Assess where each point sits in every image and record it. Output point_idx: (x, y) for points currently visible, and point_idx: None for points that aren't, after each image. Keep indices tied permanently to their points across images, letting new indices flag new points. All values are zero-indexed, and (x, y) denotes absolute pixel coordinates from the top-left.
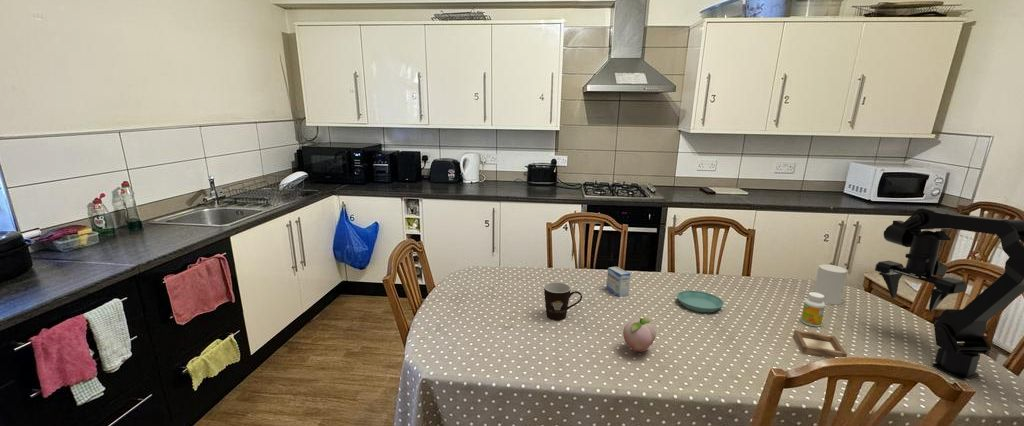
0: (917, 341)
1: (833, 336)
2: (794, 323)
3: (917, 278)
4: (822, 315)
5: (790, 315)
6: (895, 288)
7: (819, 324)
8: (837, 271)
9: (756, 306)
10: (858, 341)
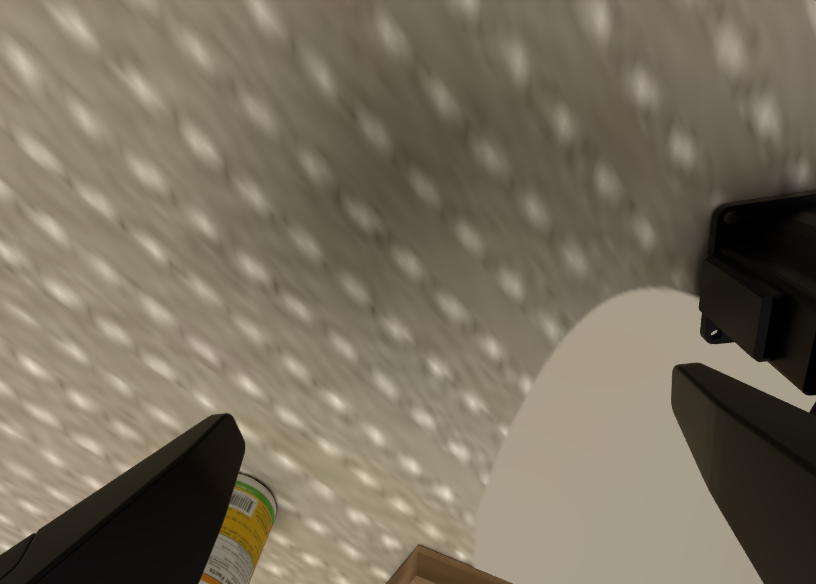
0: (457, 123)
1: (416, 578)
2: None
3: None
4: (247, 547)
5: None
6: (144, 551)
7: (271, 509)
8: None
9: None
10: (418, 450)
